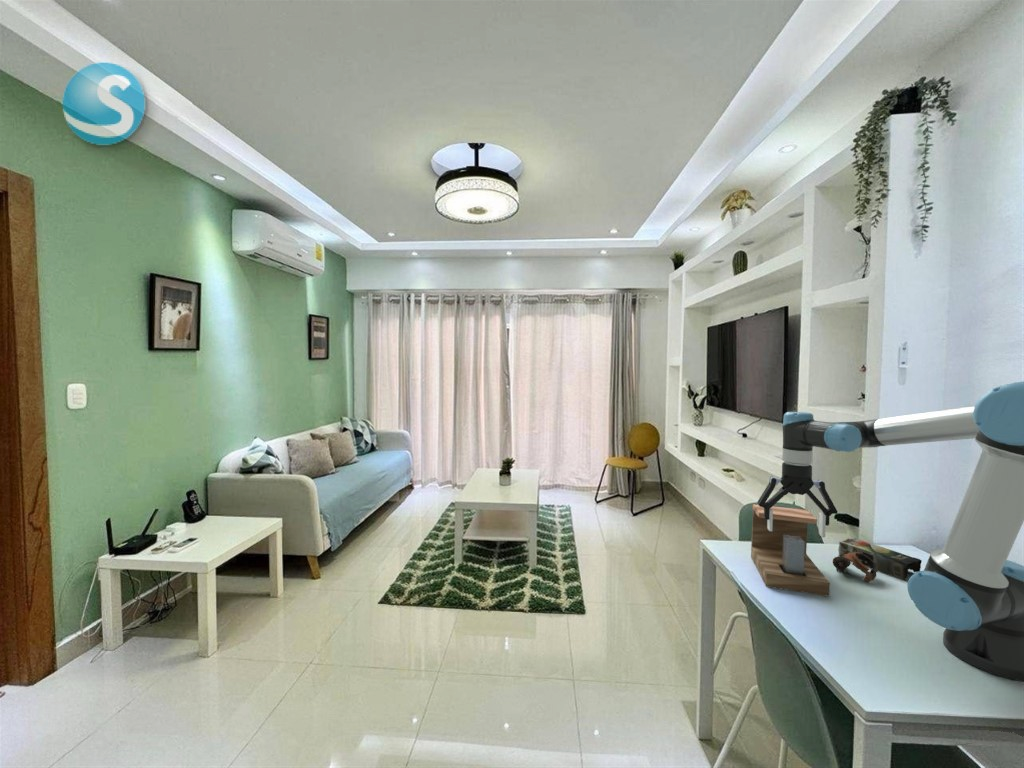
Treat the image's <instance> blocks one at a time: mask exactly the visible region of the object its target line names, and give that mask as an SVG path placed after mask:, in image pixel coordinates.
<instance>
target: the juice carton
mask: <svg viewBox="0 0 1024 768" xmlns="http://www.w3.org/2000/svg"><path fill="white" fill-rule="evenodd" d="M837 551H838V554H837V557H838V556H841V557H842V556H844V555H845V554H852V553H853V552H859V553H862V554H864V555H866V556H867V557H869V558H870V559H871V560H872V561H873V562H874V563H875V564H876V565H877V567H878V571H877V572H880V573H882V574H886V575H888V576H890V577H893V578H896V579H899V580H901V581H903V582H908V581H907V577H908V573H909V570H910V571H913V573H916V572H919V571H921V567H922V559H921V558H918V557H912V556H910V555H907V554H904V553H901V552H898V551H896V550H893V549H892V550H891V549H889V548H885V547H883V546H880V545H878V544H874V543H871V542H869V541H868V542H867V541H864V540H862V539H859V538H856V537H851V538H848V537H847V538H846V539H845V540H844V539H843V540H842V541H840V540H839V541H838V549H837ZM856 558H858V556H856ZM858 560H859V561H860V562H861V563H862V564H863V565H865V566H866V567H868V562H867V561H863V560H860V559H858ZM868 568H869V569H872V568H871V567H868Z"/></svg>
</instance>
